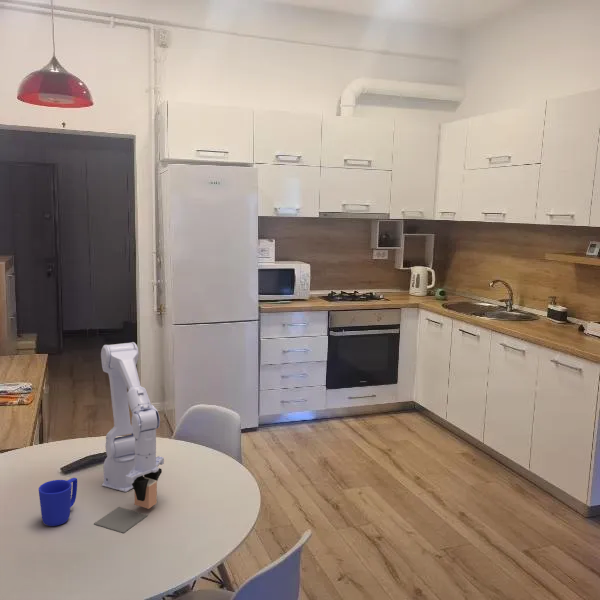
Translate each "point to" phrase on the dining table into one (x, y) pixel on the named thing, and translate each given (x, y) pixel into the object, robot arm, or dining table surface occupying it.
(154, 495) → the block
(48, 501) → the mug
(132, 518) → the mat
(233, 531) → the dining table surface
